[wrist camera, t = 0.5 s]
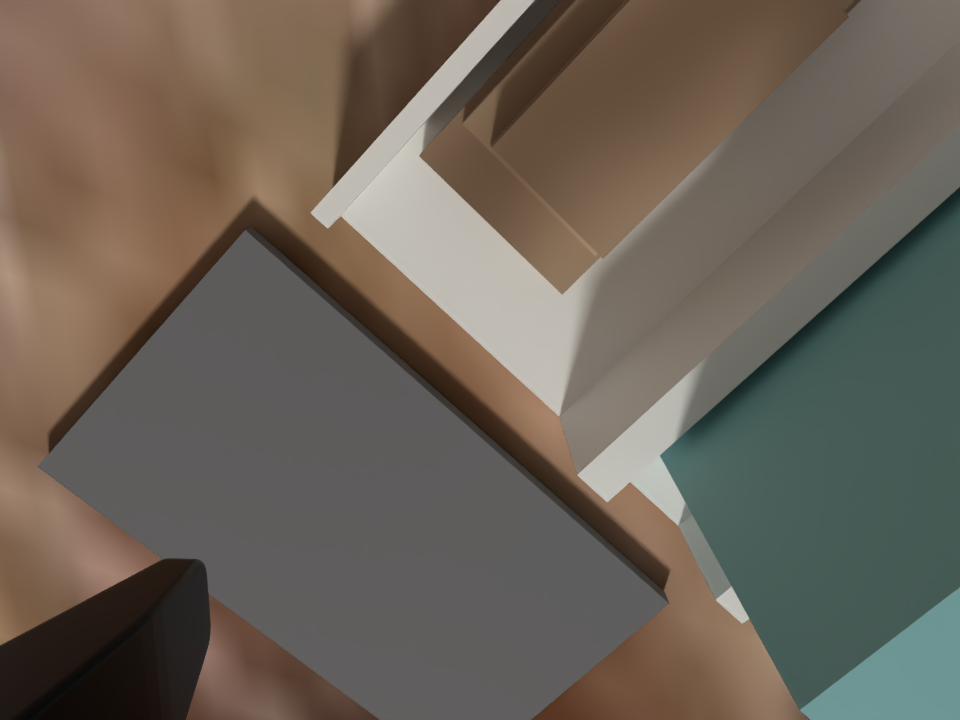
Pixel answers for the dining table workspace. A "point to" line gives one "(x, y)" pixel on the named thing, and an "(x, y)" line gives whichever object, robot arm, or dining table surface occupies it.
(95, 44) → the dining table surface
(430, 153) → the offcut stack
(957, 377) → the teal flat block
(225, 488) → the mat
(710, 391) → the rack
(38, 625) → the robot arm
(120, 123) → the dining table surface
